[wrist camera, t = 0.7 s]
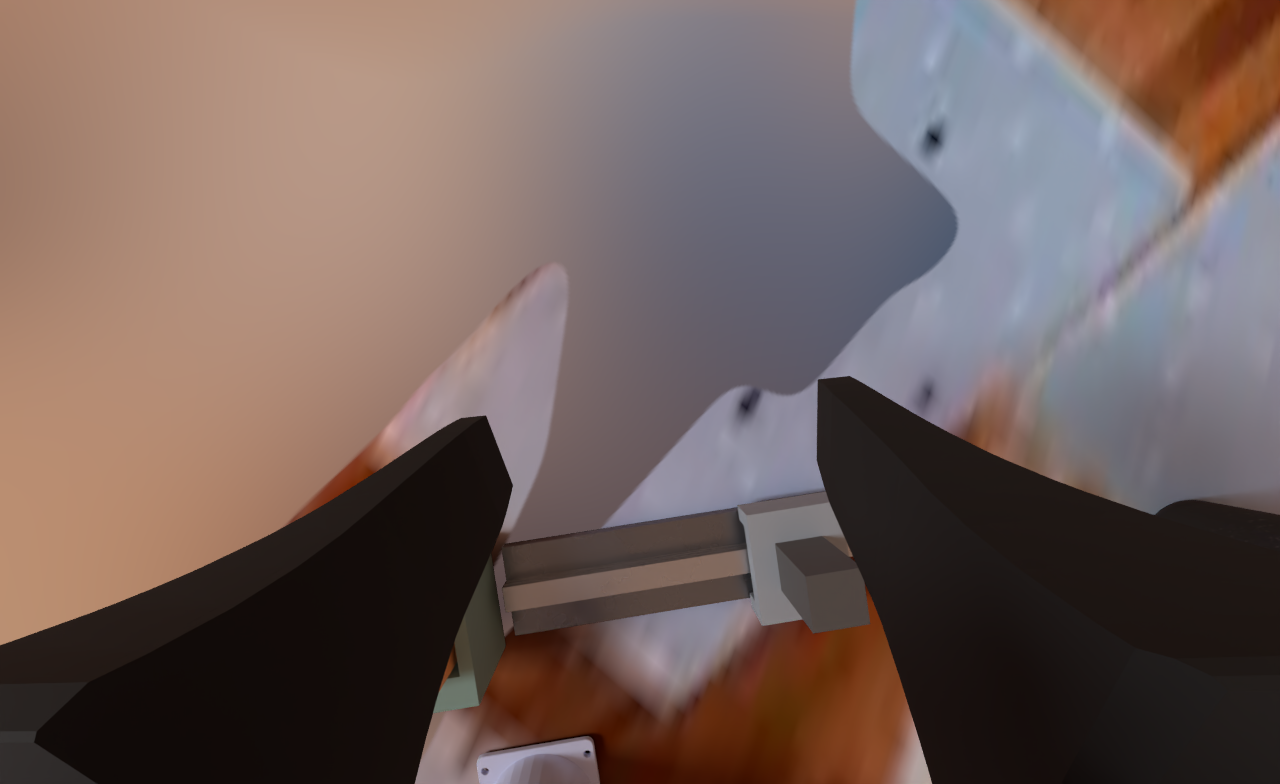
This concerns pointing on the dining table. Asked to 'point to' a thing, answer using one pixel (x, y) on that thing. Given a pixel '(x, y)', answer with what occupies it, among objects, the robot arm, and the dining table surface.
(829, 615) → the carriage
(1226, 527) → the travel mug
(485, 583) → the cabinet
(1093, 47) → the dining table surface
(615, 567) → the rail
